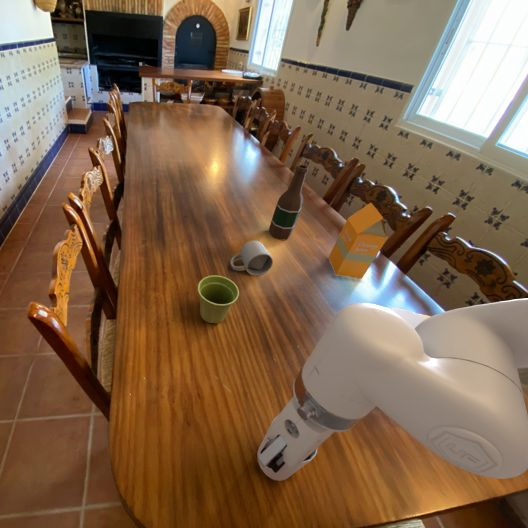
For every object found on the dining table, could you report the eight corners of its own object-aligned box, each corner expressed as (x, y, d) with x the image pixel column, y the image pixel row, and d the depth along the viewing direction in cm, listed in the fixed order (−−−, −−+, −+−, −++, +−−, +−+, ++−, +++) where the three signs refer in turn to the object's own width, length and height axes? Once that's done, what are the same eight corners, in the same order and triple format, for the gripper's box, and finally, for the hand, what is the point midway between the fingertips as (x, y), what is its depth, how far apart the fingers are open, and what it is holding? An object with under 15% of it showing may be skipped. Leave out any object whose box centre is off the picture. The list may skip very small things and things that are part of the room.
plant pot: (239, 315, 73) (247, 290, 67) (215, 337, 67) (222, 311, 62) (209, 294, 78) (214, 270, 72) (185, 313, 72) (189, 288, 66)
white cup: (296, 447, 51) (318, 422, 44) (294, 491, 46) (318, 471, 39) (257, 431, 52) (273, 405, 46) (251, 473, 47) (268, 450, 41)
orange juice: (352, 260, 94) (385, 203, 81) (362, 279, 87) (399, 220, 74) (327, 257, 94) (356, 200, 82) (335, 275, 87) (367, 216, 75)
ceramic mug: (259, 257, 91) (265, 237, 87) (269, 275, 85) (276, 254, 80) (226, 259, 90) (230, 238, 85) (234, 277, 84) (239, 255, 79)
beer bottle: (267, 237, 100) (290, 169, 85) (268, 226, 106) (288, 159, 91) (291, 242, 99) (318, 173, 84) (290, 230, 105) (315, 163, 90)
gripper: (308, 470, 28) (260, 513, 40) (399, 383, 36) (337, 441, 48) (253, 402, 33) (225, 458, 45) (344, 339, 41) (300, 401, 52)
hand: (283, 449), depth 46 cm, fingers closed on white cup, 5 cm apart
